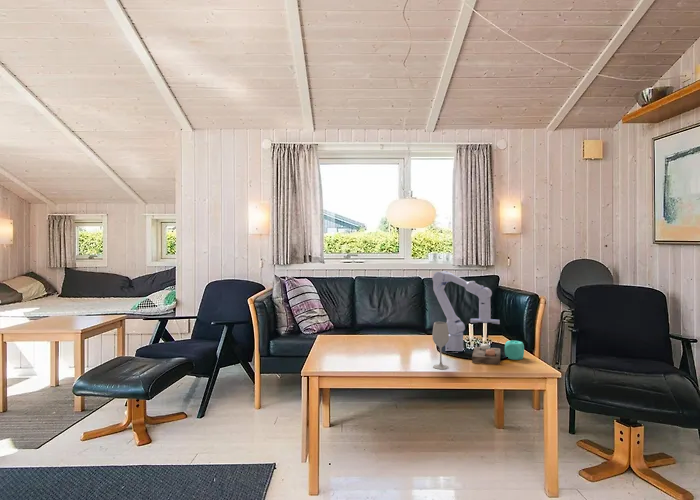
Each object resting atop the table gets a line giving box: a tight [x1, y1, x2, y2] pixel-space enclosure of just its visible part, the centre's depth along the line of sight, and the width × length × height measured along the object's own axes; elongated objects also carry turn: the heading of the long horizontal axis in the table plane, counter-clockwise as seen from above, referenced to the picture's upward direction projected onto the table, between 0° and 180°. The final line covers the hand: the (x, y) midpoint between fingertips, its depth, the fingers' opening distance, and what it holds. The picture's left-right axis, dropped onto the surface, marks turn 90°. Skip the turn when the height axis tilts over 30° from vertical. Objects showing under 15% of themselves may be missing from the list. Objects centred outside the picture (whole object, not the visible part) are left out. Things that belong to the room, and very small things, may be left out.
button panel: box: [471, 346, 501, 365], centre depth 227 cm, size 13×21×3 cm, turn 161°
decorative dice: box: [504, 340, 525, 361], centre depth 227 cm, size 8×8×8 cm
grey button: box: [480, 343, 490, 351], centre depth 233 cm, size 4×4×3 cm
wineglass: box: [431, 321, 450, 370], centre depth 212 cm, size 8×8×21 cm
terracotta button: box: [486, 349, 495, 356], centre depth 222 cm, size 4×4×3 cm
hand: (484, 337), depth 233 cm, fingers closed
